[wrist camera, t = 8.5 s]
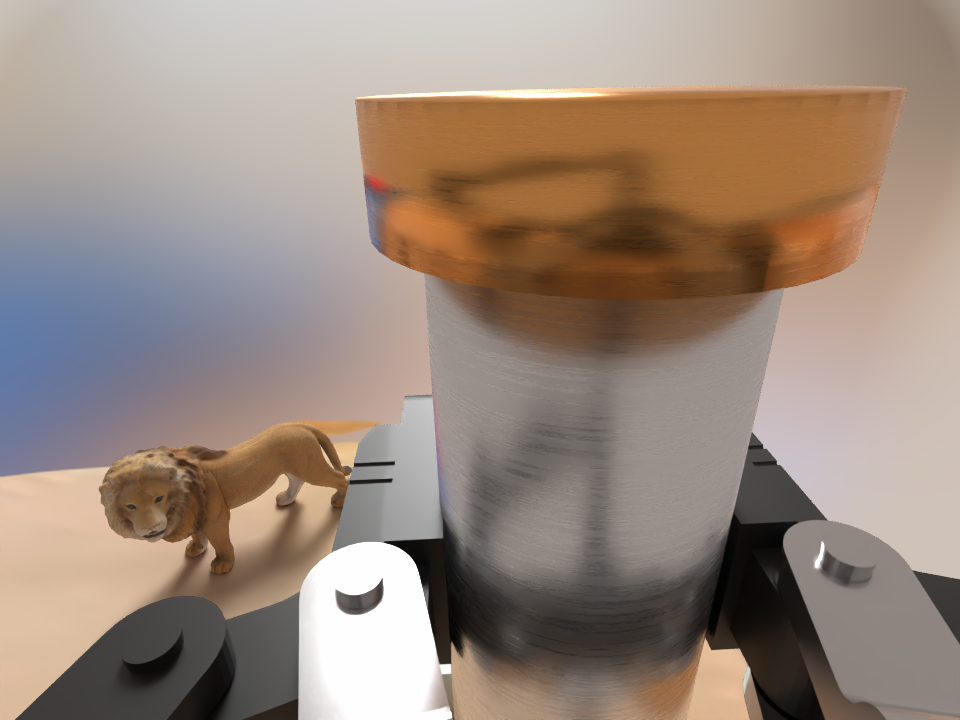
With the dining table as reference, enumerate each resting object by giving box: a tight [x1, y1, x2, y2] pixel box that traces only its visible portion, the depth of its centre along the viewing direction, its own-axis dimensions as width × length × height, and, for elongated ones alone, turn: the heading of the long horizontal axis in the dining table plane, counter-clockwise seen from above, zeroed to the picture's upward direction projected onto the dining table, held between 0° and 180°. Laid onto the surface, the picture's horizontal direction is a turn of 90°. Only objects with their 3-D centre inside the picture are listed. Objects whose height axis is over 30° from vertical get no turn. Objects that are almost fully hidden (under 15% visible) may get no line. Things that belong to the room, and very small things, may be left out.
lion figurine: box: [99, 422, 352, 574], centre depth 34 cm, size 15×5×9 cm, turn 142°
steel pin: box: [355, 86, 907, 720], centre depth 8 cm, size 5×5×14 cm
